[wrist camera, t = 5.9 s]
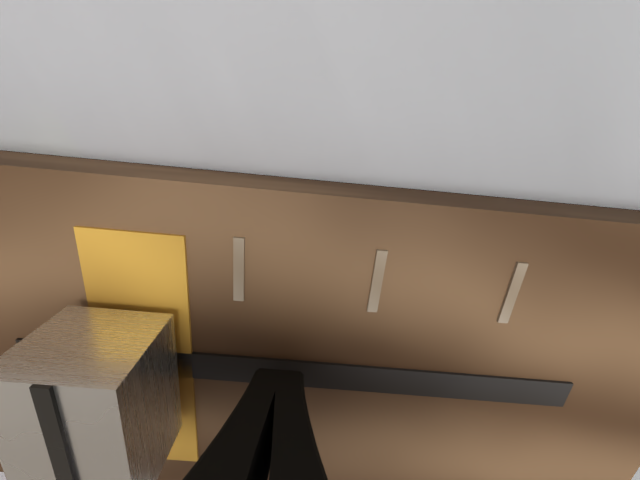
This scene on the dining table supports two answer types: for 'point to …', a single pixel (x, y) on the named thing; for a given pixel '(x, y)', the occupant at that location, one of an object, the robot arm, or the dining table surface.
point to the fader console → (352, 310)
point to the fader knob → (90, 397)
